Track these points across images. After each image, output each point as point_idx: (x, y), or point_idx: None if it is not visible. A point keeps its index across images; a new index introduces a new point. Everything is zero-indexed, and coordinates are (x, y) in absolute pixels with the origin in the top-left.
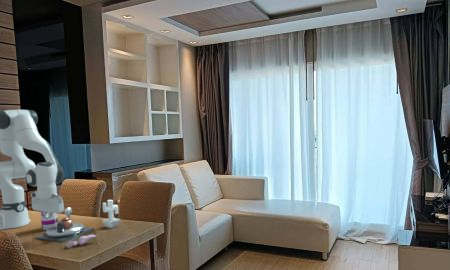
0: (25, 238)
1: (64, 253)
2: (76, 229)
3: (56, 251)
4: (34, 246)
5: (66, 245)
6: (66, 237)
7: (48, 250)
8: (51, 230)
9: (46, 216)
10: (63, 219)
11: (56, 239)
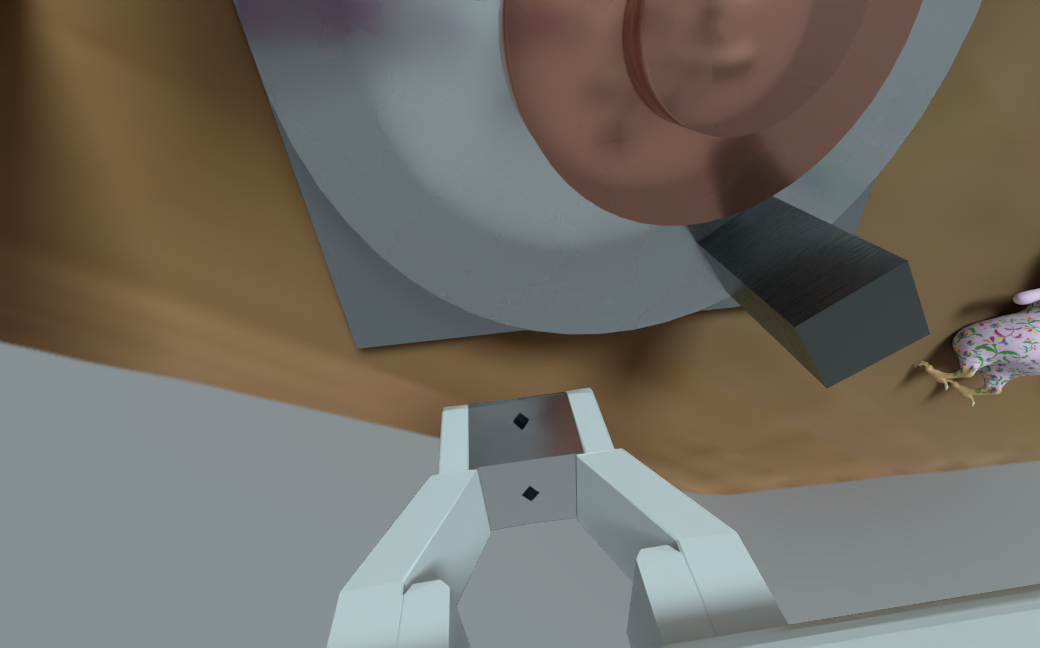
0: (247, 380)
1: (1000, 418)
2: (968, 12)
3: (904, 422)
4: None
5: (1000, 383)
6: None
7: (817, 436)
8: (500, 252)
9: (486, 522)
10: (773, 123)
11: (729, 306)
